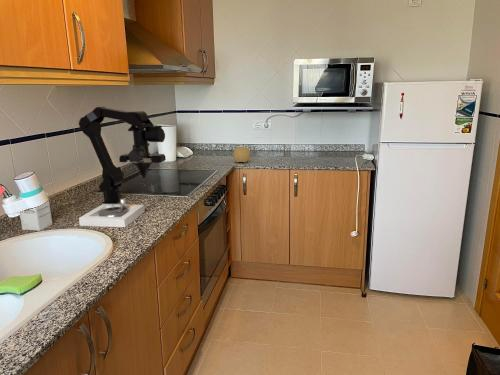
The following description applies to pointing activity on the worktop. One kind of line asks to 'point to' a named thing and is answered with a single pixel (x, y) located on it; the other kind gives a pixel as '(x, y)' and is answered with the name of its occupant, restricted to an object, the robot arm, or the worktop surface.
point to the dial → (115, 210)
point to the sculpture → (241, 154)
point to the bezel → (123, 221)
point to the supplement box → (37, 217)
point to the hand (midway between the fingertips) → (144, 177)
